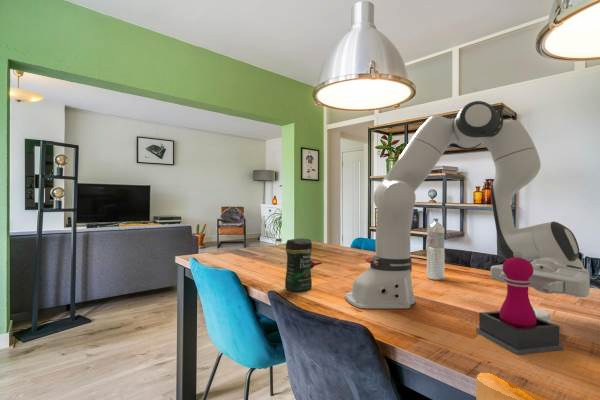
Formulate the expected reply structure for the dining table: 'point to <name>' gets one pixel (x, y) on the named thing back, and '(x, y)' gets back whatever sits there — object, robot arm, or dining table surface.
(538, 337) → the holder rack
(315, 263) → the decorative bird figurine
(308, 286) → the coffee jar
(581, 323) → the dining table surface
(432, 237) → the water bottle
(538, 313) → the coaster
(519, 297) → the pepper mill
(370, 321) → the dining table surface
